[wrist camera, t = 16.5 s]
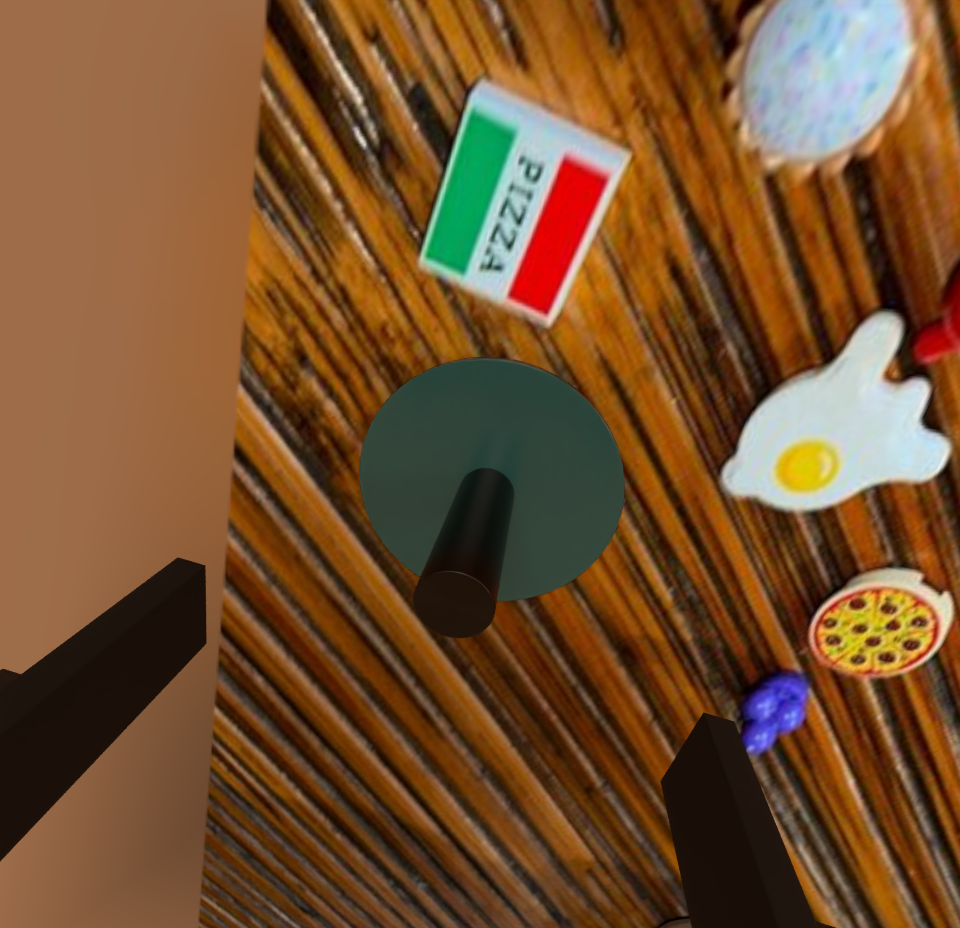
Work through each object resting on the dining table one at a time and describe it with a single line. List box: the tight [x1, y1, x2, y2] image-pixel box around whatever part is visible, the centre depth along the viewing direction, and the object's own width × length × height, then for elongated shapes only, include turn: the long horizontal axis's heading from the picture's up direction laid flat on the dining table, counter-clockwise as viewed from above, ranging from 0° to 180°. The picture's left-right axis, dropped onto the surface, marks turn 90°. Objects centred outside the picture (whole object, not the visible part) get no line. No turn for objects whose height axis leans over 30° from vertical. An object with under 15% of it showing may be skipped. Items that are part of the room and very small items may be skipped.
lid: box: [359, 357, 625, 638], centre depth 18 cm, size 12×12×9 cm
